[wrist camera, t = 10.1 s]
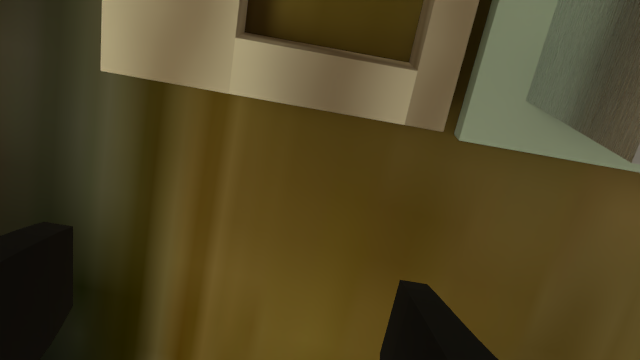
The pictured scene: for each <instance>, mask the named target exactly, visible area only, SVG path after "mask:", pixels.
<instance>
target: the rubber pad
mask: <svg viewBox="0 0 640 360" xmlns="http://www.w3.org/2000/svg"><path fill="white" fill-rule="evenodd" d="M557 2H558V0H492V2H491V6H490V9H489V13H488V16H487V20H486V23H485V27H484V30H483V34H482V37H481V41H480V45H479V48H478V52H477V55H476V59H475V62H474V66H473V69H472V73H471V76H470V80H469V83H468V87H467V90H466V94H465V97H464V101H463V105H462V108H461V112H460V115H459V119H458V122H457V126H456V129H455V133H454V135H455V136H456V138H457V139H458V140H460V141H465V142H471V143H476V144H482V145H488V146H493V147H499V148H505V149H510V150H516V151H521V152H527V153H533V154H538V155H544V156H550V157H555V158H561V159H566V160H572V161H578V162H583V163H589V164H595V165H600V166H606V167H611V168H617V169H623V170H628V171H634V172H640V165H639V164H633V163H630V162H629V161H627V160H625V159H624V158H622V157H620V156H618V155H617V154H615V153H613V152H612V151H610V150H608V149H607V148H605V147H603V146H602V145H600V144H598V143H597V142H595V141H593V140H592V139H590V138H588V137H587V136H585V135H583V134H582V133H580V132H578V131H577V130H575V129H573V128H572V127H570V126H568V125H567V124H565V123H563V122H561V121H560V120H558V119H556V118H555V117H553V116H551V115H550V114H548V113H546V112H545V111H543V110H541V109H540V108H538V107H536V106H535V105H533V104H531V103H530V102H528V101H526V98H527V95H528V92H529V89H530V86H531V82H532V79H533V76H534V73H535V70H536V67H537V64H538V61H539V58H540V55H541V52H542V48H543V45H544V42H545V39H546V36H547V33H548V30H549V27H550V24H551V21H552V18H553V14H554V11H555V8H556V5H557Z"/></svg>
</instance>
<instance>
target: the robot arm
mask: <svg viewBox="0 0 640 360" xmlns="http://www.w3.org/2000/svg"><path fill="white" fill-rule="evenodd" d="M72 306H73V226H66V225H60V224H54V223H48V222H42V223H38V224H34V225H31V226H28V227H25V228H22V229H19V230H16V231H13V232H10V233H8V234H5V235H2V236H0V360H39V359H40V358H41V357H42V356H43V354H44V353H45V352H46V350H47V349H48V347H49V346H50V345H51V343H52V341H53V340H54V338H55V336H56V335H57V333H58V331H59V330H60V328H61V326H62V324H63V323H64V321H65V319H66V317H67V315H68V314H69V312H70V310H71V308H72ZM380 360H498V359H497V358H496V357H495V356H494V355H493V354H492V353H491V352H490V351H489V350H488V349H487V348H486V347H485V346H484V345H483V344H482V343H481V342H480V341H479V340H478V339H477V338H476V337H475V335H474V334H473V333H472V332H471V331H470V330H469V329H468V328H467V327H466V326H465V325H464V324H463V323H462V321H461V320H460V319H459V318H458V317H457V316H456V315H455V314H454V313H453V312H452V310H451V309H450V308H449V307H448V306H447V305H446V304H445V303H444V302H443V300H442V299H441V298H440V297H439V296H438V295H437V294H436V293H435V292H434V291H433V290H432V289H431V288H430V287H429V286H428V285H427V284H422V283H416V282H410V281H404V280H400V282H399V286H398V289H397V293H396V297H395V300H394V304H393V308H392V311H391V315H390V319H389V322H388V326H387V330H386V333H385V337H384V341H383V344H382V348H381V352H380Z"/></svg>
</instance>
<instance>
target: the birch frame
mask: <svg viewBox="0 0 640 360" xmlns="http://www.w3.org/2000/svg"><path fill="white" fill-rule="evenodd" d="M478 4H479V0H424V1H423V5H422V9H421V14H420V18H419V22H418V26H417V30H416V35H415V39H414V43H413V47H412V52H411V56H410V60H409V62H403V61H398V60H393V59H387V58H382V57H376V56H371V55H366V54H360V53H355V52H349V51H344V50H338V49H333V48H328V47H322V46H317V45H311V44H306V43H300V42H295V41H290V40H284V39H279V38H273V37H268V36H263V35H257V34H252V33H246V32H245V24H246V15H247V7H248V0H102V26H101V71H104V72H110V73H116V74H121V75H127V76H132V77H138V78H144V79H149V80H155V81H160V82H166V83H172V84H177V85H183V86H189V87H194V88H200V89H205V90H211V91H217V92H222V93H228V94H233V95H239V96H245V97H250V98H256V99H261V100H267V101H273V102H278V103H284V104H290V105H295V106H301V107H306V108H312V109H318V110H323V111H329V112H334V113H340V114H346V115H351V116H357V117H362V118H368V119H374V120H379V121H385V122H390V123H396V124H402V125H407V126H413V127H419V128H424V129H430V130H435V131H441V132H443V131H444V127H445V124H446V120H447V116H448V113H449V109H450V105H451V102H452V98H453V95H454V91H455V87H456V84H457V80H458V76H459V73H460V69H461V65H462V62H463V58H464V55H465V51H466V47H467V44H468V40H469V36H470V33H471V29H472V25H473V22H474V18H475V15H476V11H477V7H478Z"/></svg>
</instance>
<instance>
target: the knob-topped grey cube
mask: <svg viewBox="0 0 640 360" xmlns="http://www.w3.org/2000/svg"><path fill="white" fill-rule="evenodd" d="M526 101H528V102H530V103H531V104H533V105H535V106H536V107H538V108H540V109H541V110H543V111H545V112H546V113H548V114H550V115H551V116H553V117H555V118H556V119H558V120H560V121H561V122H563V123H565V124H567V125H568V126H570V127H572V128H573V129H575V130H577V131H578V132H580V133H582V134H583V135H585V136H587V137H588V138H590V139H592V140H593V141H595V142H597V143H598V144H600V145H602V146H603V147H605V148H607V149H608V150H610V151H612V152H613V153H615V154H617V155H618V156H620V157H622V158H624V159H625V160H627V161H629V162H630V163H633V164H639V165H640V0H558V2H557V5H556V8H555V11H554V14H553V18H552V21H551V24H550V27H549V30H548V33H547V36H546V39H545V42H544V45H543V48H542V52H541V55H540V58H539V61H538V64H537V67H536V70H535V73H534V76H533V79H532V82H531V86H530V89H529V92H528V95H527V98H526Z"/></svg>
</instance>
